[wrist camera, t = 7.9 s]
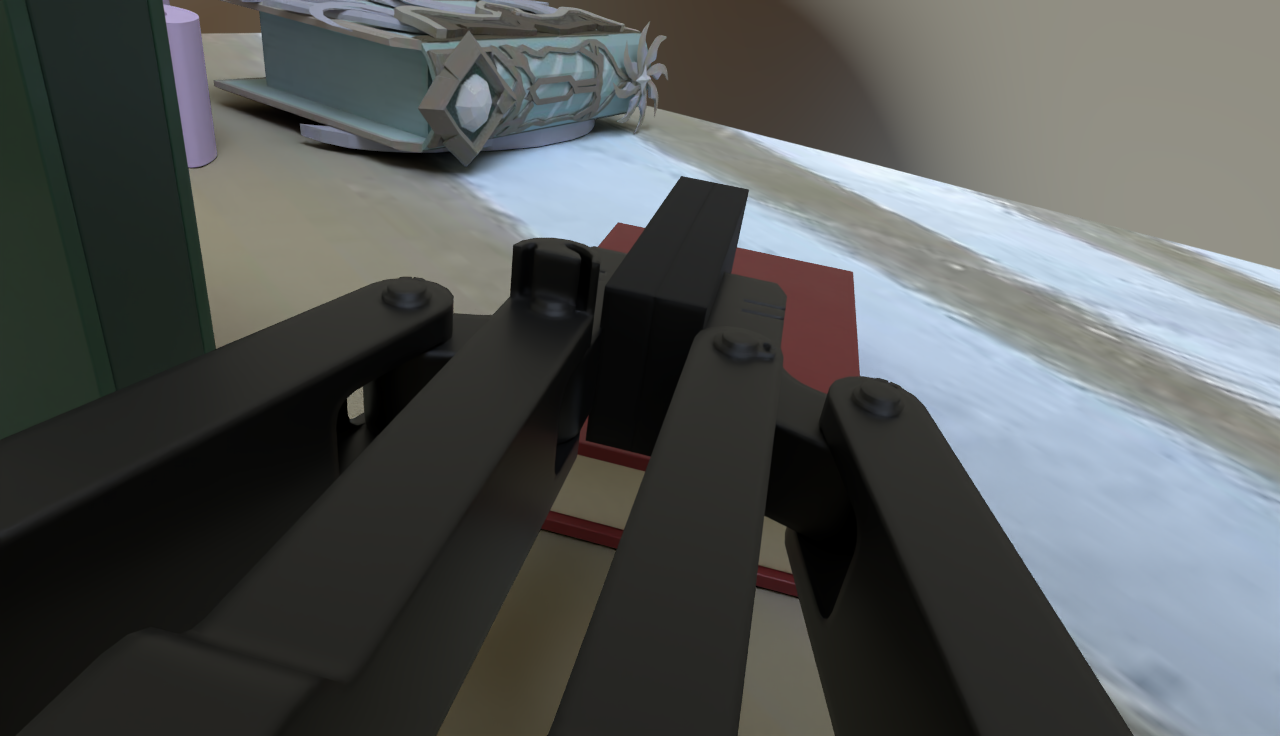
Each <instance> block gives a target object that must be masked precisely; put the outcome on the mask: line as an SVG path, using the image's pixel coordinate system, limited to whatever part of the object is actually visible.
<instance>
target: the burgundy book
mask: <svg viewBox="0 0 1280 736" xmlns="http://www.w3.org/2000/svg"><path fill="white" fill-rule="evenodd" d="M644 229H645V228H642V227H637V226H633V225H628V224H623V223H617V224H616V226H615V227H614V228H613V229H612V230H611V232H610V233H609V234H608V235H607V236H606V238H605V239H604V240H603V241H602V242H601V244H600V245H599V246H598V247H600V248H604V249H609V250H614V251H618V252H623V253H628V252H629V251H630V249H631V248H632V246H633V245H634V243H635V242H636V241H637V239H638V238H639V236H640V235H641V233H642V232H643V231H644ZM731 273H732V274H736V275H741V276H746V277H750V278H755V279H760V280H765V281H769V282H774V283H778V285H779V286H780V287H781V289H782V290H783V291H784V293H785V294H786V295H787V302H786V309H785V317H784V325H783V333H782V341H781V349H782V353H783V356H784V360H783V367H784V369H785V370H786V371H787V372H788V373H789V374H790V375H791V376H792V377H794V378H795V379H797V380H798V381H800V382H801V383H803V384H805V385H807V386H809V387H811V388H813V389H816V390H818V391H821V392H823V393H826V394H827V393H828V390H829V387H830V386H831V385H832V383H833V382H834V381H835V380H837V379H841V378H844V377H848V376H860V370H859V355H858V340H857V325H856V310H855V295H854V280H853V272H851V271H846V270H842V269H837V268H832V267H827V266H823V265H818V264H813V263H808V262H804V261H799V260H794V259H789V258H785V257H780V256H775V255H770V254H766V253H761V252H756V251H751V250H747V249H742V248H736V253H735V258H734V262H733V267H732V272H731ZM588 416H589V415H588ZM587 424H588V417H587V419H586V421H585V423H584V425H583V426H582V428H581V430H580V438H579V446H578V453H577V458H576V460H575V462H574V464H573V466H572V468H571V470H570V472H569V474H568V476H567V478H566V480H565V482H564V484H563V486H562V488H561V490H560V492H559V494H558V496H557V498H556V500H555V502H554V504H553V506H552V507H551V509H550V511H549V513H548V515H547V517H546V519H545V521H544V523H543V525H542V527H541V529H545V530H548V531H552V532H556V533H560V534H563V535H567V536H571V537H575V538H578V539H582V540H586V541H590V542H594V543H597V544H601V545H605V546H609V547H612V548H616V549H617V547H618V544H619V542H620V539H621V536H622V533H623V531H624V528H625V525H626V523H627V520H628V517H629V514H630V512H631V509H632V506H633V504H634V501H635V498H636V495H637V493H638V490H639V487H640V484H641V482H642V479H643V476H644V474H645V471H646V468H647V465H648V463H649V460H650V456H646V455H642V454H638V453H634V452H630V451H626V450H622V449H618V448H614V447H610V446H606V445H601V444H597V443H593V442H589V441H585V440H586V432H587ZM785 531H786V526H784V525H782V524H780V523H778V522H776V521H774V520H772V519H770V518H768V517H766V516H764V523H763V531H762V539H761V548H760V556H759V564H758V572H757V580H756V586H759V587H763V588H767V589H770V590H774V591H778V592H782V593H785V594H789V595H793V596H797V597H798V593H797V589H796V585H795V582H794V578H793V574H792V570H791V566H790V563H789V559H788V555H787V551H786V547H785Z"/></svg>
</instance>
